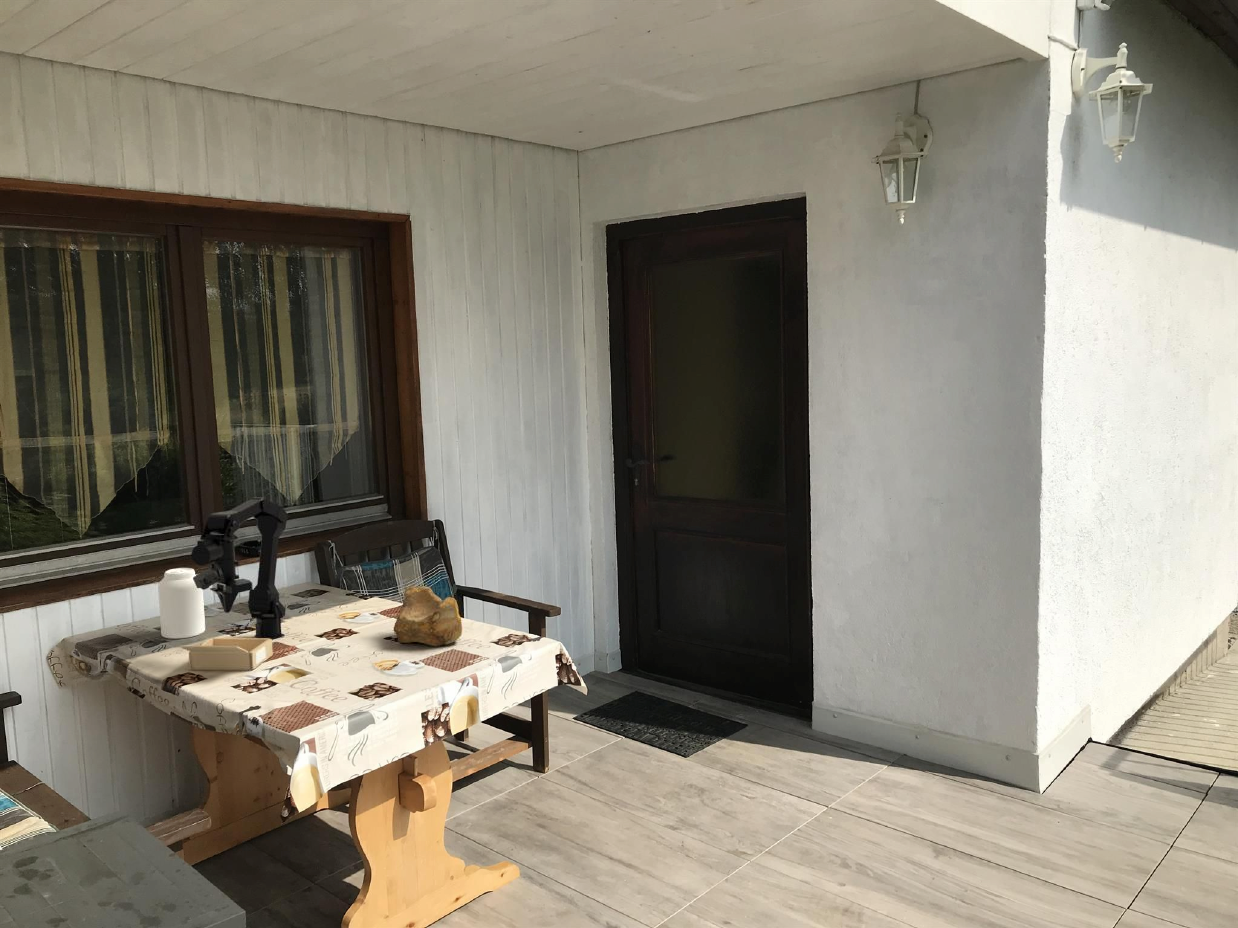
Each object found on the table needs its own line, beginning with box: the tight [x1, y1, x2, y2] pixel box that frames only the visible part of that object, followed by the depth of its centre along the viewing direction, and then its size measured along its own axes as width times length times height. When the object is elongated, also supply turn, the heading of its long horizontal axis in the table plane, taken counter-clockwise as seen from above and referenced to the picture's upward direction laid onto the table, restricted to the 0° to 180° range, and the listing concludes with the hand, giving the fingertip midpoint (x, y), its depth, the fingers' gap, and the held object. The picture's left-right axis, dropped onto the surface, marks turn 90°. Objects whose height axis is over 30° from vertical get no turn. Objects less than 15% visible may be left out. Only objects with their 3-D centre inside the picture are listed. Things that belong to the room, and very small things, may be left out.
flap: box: [178, 645, 248, 653], centre depth 264 cm, size 1×16×7 cm
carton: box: [188, 637, 274, 671], centre depth 275 cm, size 14×18×5 cm
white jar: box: [157, 567, 206, 640], centre depth 303 cm, size 12×12×20 cm
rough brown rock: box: [393, 585, 463, 648], centre depth 292 cm, size 23×16×15 cm
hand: (227, 612), depth 278 cm, fingers closed
